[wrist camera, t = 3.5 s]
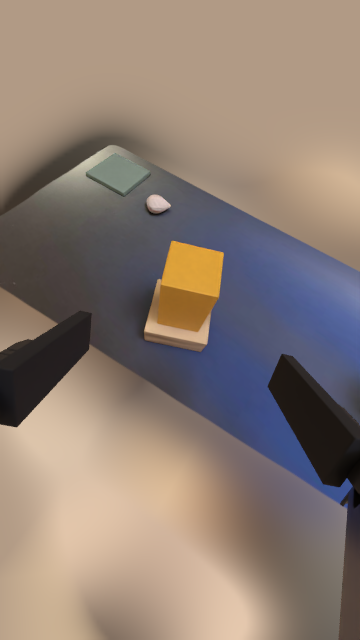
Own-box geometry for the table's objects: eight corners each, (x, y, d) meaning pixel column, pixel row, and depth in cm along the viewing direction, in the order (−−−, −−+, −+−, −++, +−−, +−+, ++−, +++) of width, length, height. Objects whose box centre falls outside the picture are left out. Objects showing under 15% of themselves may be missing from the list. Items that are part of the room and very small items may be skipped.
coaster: (124, 196, 45) (123, 193, 44) (86, 176, 46) (85, 172, 45) (150, 174, 49) (150, 171, 48) (115, 156, 50) (115, 152, 49)
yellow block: (198, 332, 30) (219, 297, 21) (157, 323, 30) (160, 284, 21) (203, 297, 32) (224, 252, 23) (165, 288, 32) (171, 240, 23)
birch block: (200, 352, 33) (207, 344, 29) (144, 340, 33) (143, 331, 29) (207, 303, 37) (213, 291, 33) (157, 292, 36) (158, 278, 33)
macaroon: (147, 201, 45) (147, 190, 43) (170, 204, 46) (171, 193, 44) (146, 215, 44) (146, 204, 41) (170, 218, 44) (171, 207, 42)
